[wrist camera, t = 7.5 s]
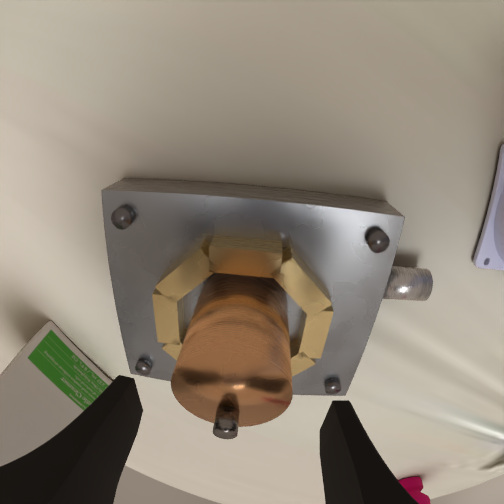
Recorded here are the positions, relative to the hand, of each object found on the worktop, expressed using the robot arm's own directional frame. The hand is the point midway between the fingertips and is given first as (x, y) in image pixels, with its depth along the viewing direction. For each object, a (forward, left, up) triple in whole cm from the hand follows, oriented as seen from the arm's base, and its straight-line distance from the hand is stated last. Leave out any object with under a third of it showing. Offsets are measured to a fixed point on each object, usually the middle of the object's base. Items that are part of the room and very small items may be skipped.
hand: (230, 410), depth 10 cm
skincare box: (+15, +10, -9) cm, 20 cm away
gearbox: (-1, 0, -9) cm, 9 cm away
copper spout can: (0, 0, -6) cm, 6 cm away
